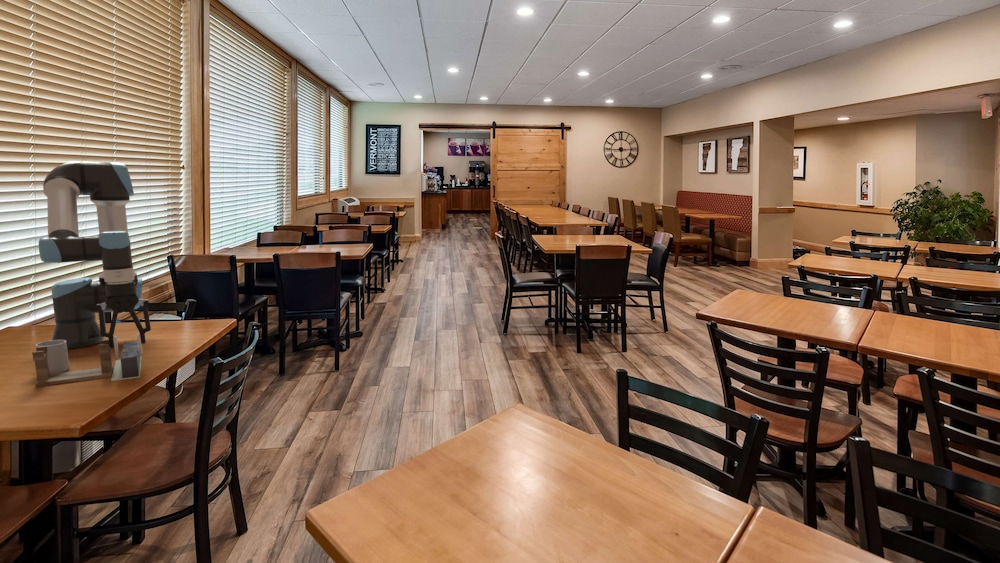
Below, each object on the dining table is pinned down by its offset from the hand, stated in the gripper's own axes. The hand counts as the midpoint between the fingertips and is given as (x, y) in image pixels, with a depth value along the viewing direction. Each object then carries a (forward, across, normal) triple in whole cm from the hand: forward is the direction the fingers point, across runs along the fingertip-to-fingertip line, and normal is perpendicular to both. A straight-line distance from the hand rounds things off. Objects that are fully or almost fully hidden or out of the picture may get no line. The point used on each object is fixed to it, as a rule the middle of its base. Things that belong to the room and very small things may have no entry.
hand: (129, 355), depth 170 cm
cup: (+4, -20, +10) cm, 23 cm away
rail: (+4, 0, -1) cm, 4 cm away
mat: (+4, -1, 0) cm, 4 cm away
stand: (+4, -14, -2) cm, 14 cm away
